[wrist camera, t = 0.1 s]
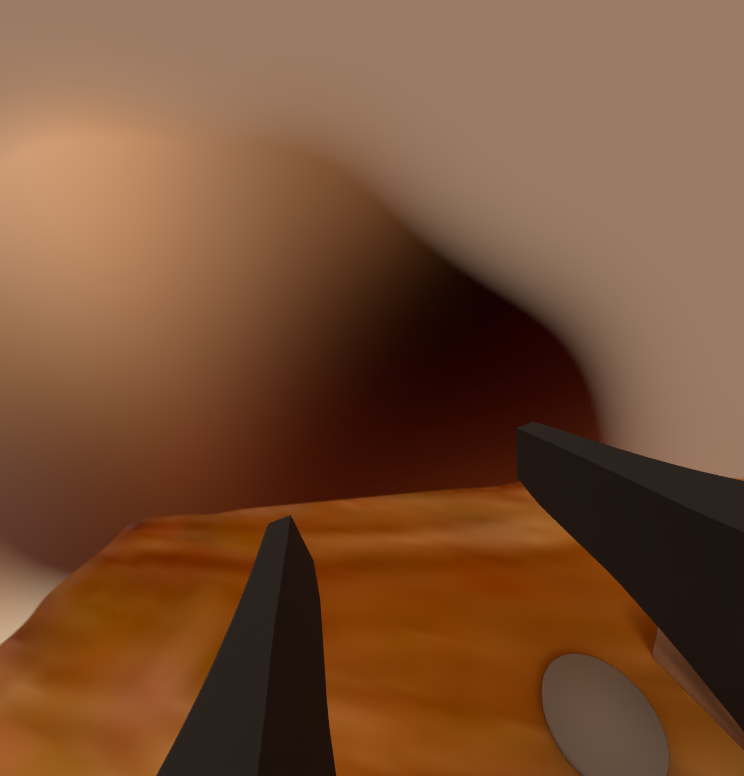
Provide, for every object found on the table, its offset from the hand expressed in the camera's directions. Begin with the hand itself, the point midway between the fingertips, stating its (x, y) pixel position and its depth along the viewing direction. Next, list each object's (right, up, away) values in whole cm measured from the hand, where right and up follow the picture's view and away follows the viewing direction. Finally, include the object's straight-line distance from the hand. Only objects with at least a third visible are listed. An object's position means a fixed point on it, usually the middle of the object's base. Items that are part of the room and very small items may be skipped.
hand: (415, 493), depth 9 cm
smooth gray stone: (+13, -17, +9) cm, 23 cm away
